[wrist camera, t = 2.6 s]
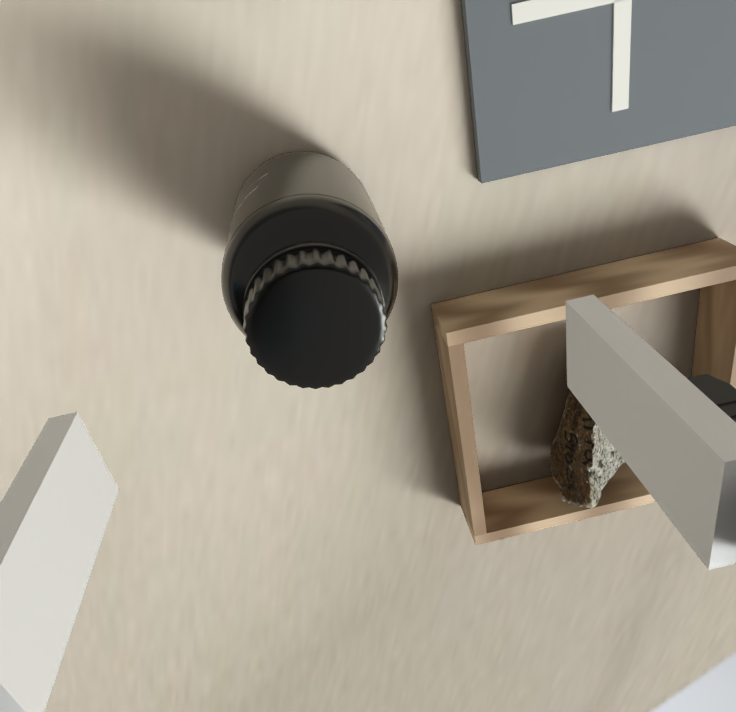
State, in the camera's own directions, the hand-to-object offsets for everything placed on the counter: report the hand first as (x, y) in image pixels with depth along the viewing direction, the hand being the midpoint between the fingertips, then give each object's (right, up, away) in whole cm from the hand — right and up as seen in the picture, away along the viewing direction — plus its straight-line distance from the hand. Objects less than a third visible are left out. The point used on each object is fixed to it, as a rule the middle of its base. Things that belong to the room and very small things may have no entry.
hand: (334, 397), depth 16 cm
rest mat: (+12, +17, +11) cm, 24 cm away
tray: (+14, -1, +21) cm, 25 cm away
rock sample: (+15, -1, +22) cm, 27 cm away
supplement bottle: (-2, +8, +14) cm, 16 cm away
